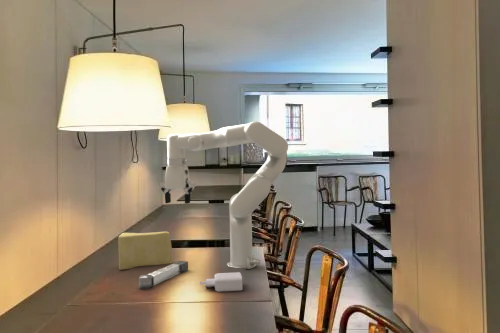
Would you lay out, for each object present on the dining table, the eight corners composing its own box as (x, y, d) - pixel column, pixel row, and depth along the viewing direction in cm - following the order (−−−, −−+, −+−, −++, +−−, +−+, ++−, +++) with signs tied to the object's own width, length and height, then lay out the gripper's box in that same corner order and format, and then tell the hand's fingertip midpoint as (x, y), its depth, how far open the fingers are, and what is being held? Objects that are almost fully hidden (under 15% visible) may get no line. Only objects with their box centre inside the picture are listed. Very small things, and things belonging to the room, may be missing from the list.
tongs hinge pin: (154, 286, 152) (154, 275, 152) (146, 290, 148) (146, 278, 148) (144, 285, 154) (144, 274, 154) (136, 288, 150) (136, 277, 150)
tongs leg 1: (149, 285, 153) (149, 275, 153) (144, 284, 154) (144, 274, 154) (183, 269, 174) (183, 261, 174) (179, 269, 175) (178, 260, 175)
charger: (200, 285, 156) (240, 283, 157) (199, 293, 147) (242, 291, 148) (199, 273, 156) (240, 271, 157) (199, 280, 147) (242, 278, 148)
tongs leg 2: (155, 285, 152) (155, 276, 152) (150, 285, 153) (150, 275, 153) (188, 270, 173) (188, 261, 173) (183, 269, 174) (183, 261, 174)
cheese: (173, 262, 190) (172, 229, 190) (171, 268, 181) (170, 233, 180) (122, 264, 188) (122, 231, 188) (118, 270, 178) (117, 235, 178)
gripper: (198, 162, 179) (199, 202, 180) (164, 163, 186) (165, 201, 186) (189, 162, 172) (190, 204, 173) (154, 163, 179) (155, 203, 179)
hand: (177, 203), depth 179 cm, fingers open, 9 cm apart
